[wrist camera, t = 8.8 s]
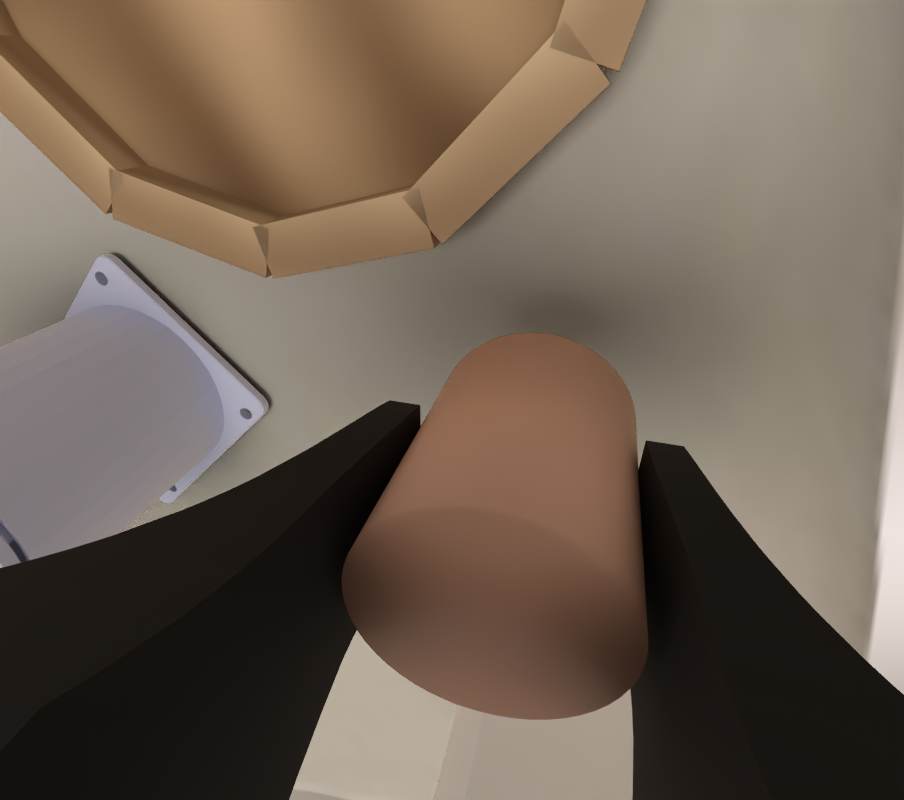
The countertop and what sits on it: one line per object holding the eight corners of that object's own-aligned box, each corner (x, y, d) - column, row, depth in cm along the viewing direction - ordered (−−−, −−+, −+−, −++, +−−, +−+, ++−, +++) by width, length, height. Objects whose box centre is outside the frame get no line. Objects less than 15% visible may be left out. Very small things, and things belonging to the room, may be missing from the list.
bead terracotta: (522, 522, 12) (475, 739, 8) (405, 402, 12) (287, 577, 7) (677, 444, 10) (718, 682, 6) (549, 290, 10) (497, 449, 5)
